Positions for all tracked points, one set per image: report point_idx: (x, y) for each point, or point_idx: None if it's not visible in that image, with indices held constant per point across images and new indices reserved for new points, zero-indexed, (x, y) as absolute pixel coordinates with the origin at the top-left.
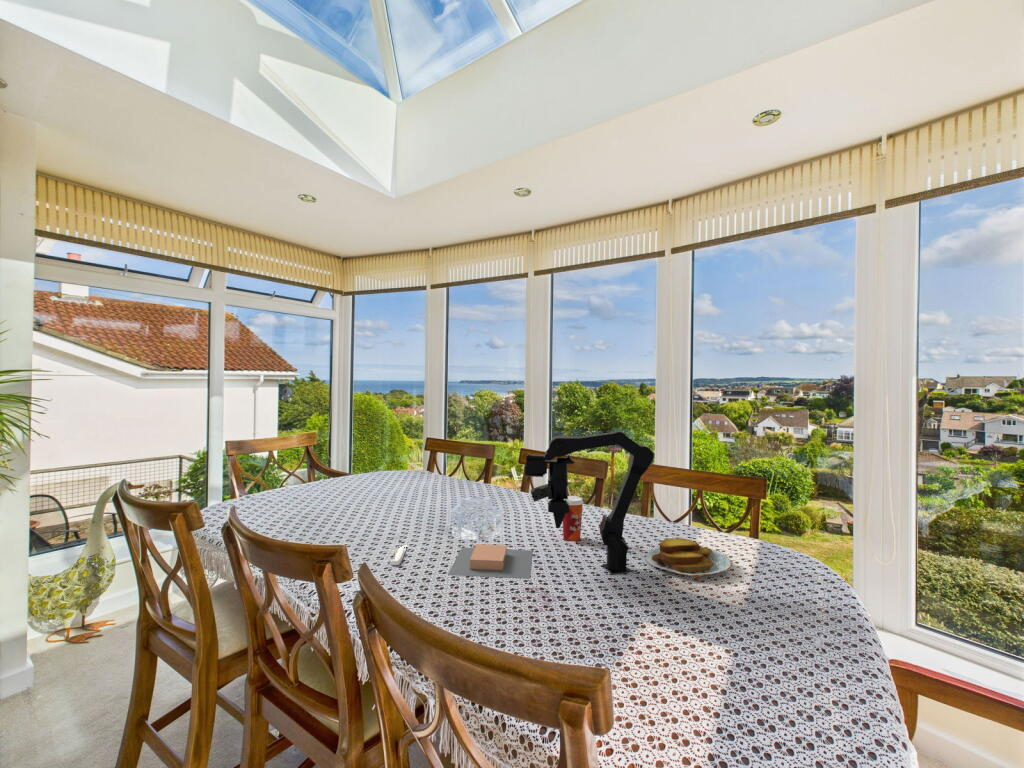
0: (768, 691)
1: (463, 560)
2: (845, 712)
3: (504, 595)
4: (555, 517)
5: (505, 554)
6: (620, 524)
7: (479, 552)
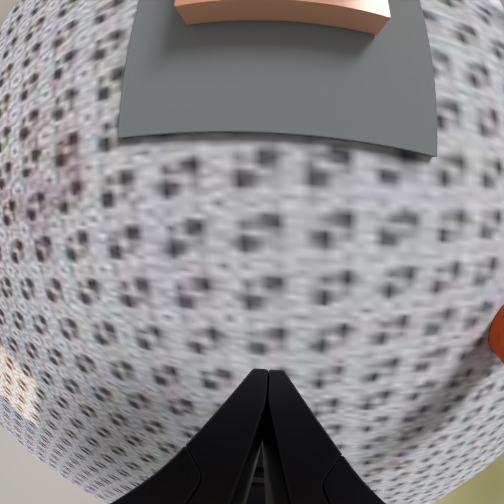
0: (3, 408)
1: None
2: (13, 431)
3: (45, 86)
4: (176, 468)
5: (306, 9)
6: None
7: None
